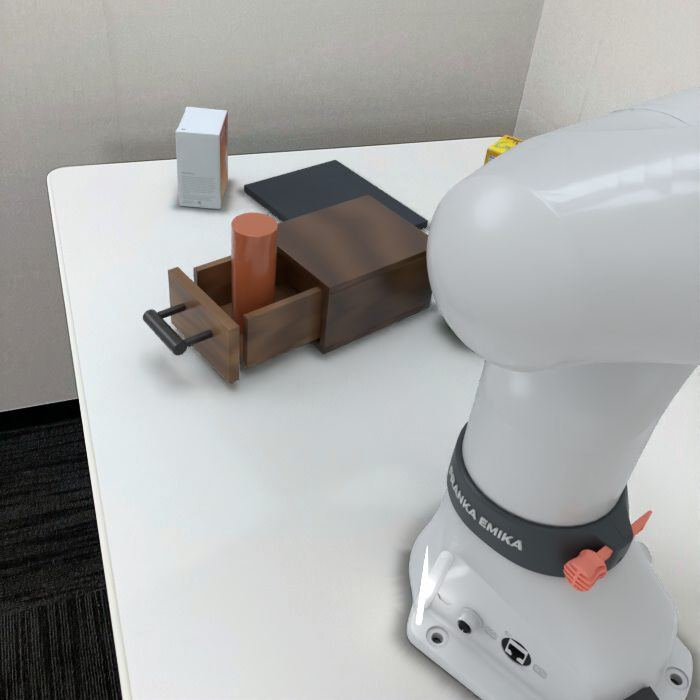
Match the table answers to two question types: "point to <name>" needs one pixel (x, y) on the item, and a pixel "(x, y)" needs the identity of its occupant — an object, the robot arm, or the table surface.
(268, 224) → the orange cylinder
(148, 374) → the table surface
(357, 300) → the cabinet
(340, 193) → the mat
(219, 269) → the drawer
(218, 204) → the small box
